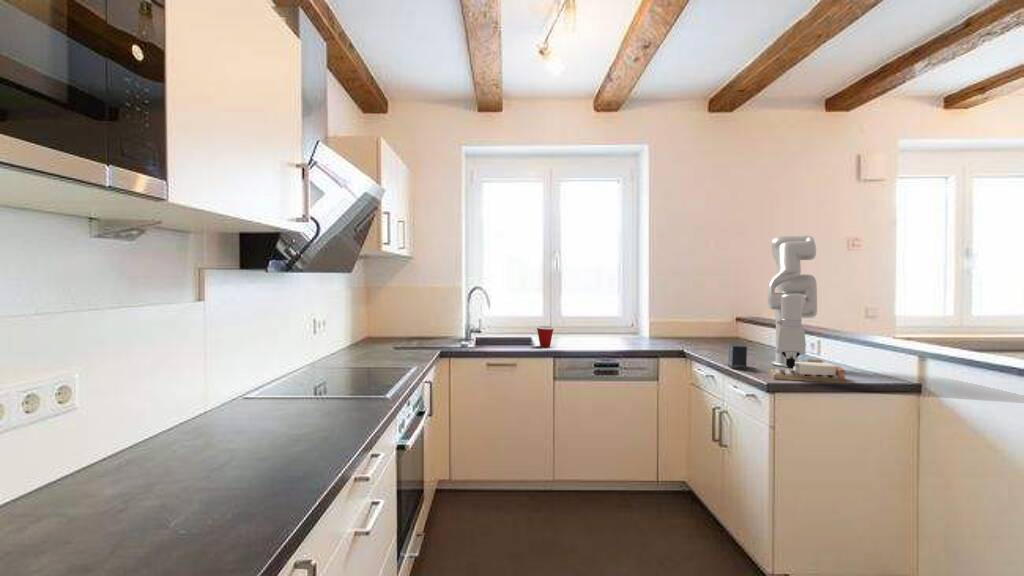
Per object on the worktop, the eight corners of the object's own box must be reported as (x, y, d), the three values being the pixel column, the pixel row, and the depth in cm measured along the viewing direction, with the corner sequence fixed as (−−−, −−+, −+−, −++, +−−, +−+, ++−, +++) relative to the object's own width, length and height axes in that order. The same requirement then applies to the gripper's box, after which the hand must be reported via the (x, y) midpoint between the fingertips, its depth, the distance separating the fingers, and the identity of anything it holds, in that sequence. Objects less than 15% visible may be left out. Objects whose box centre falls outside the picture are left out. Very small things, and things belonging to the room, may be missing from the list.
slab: (793, 370, 215) (793, 361, 215) (827, 371, 213) (827, 362, 212) (799, 374, 207) (799, 365, 207) (835, 375, 204) (835, 366, 204)
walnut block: (807, 372, 222) (807, 359, 221) (820, 373, 220) (820, 359, 220) (809, 375, 217) (809, 361, 217) (823, 376, 215) (823, 361, 215)
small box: (747, 369, 230) (747, 346, 229) (732, 369, 231) (732, 345, 231) (741, 365, 240) (742, 343, 240) (727, 364, 241) (727, 342, 241)
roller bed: (770, 373, 221) (770, 361, 221) (837, 377, 212) (837, 365, 212) (773, 379, 209) (773, 366, 209) (845, 383, 201) (845, 370, 200)
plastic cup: (544, 348, 296) (544, 327, 295) (532, 346, 304) (532, 326, 304) (558, 346, 303) (558, 326, 302) (545, 344, 311) (545, 324, 311)
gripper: (771, 324, 211) (771, 368, 212) (813, 325, 206) (812, 370, 206) (769, 322, 218) (769, 365, 219) (810, 323, 213) (809, 367, 213)
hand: (790, 368), depth 212 cm, fingers closed
